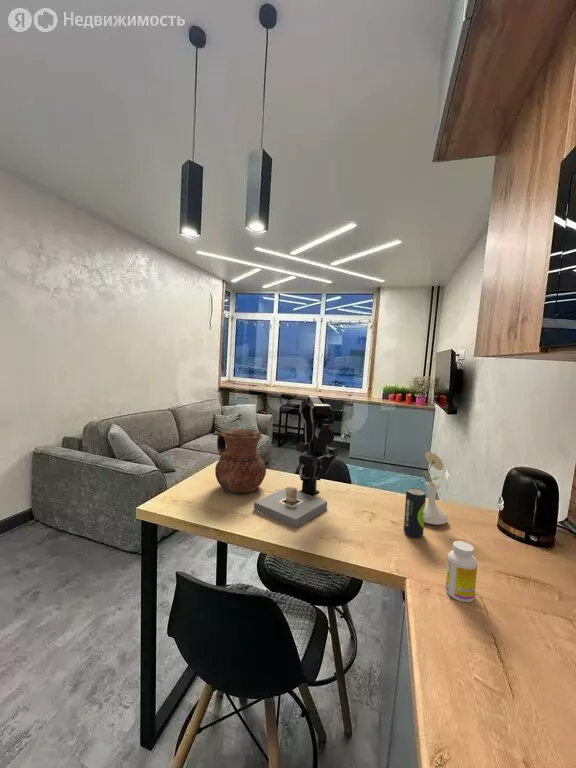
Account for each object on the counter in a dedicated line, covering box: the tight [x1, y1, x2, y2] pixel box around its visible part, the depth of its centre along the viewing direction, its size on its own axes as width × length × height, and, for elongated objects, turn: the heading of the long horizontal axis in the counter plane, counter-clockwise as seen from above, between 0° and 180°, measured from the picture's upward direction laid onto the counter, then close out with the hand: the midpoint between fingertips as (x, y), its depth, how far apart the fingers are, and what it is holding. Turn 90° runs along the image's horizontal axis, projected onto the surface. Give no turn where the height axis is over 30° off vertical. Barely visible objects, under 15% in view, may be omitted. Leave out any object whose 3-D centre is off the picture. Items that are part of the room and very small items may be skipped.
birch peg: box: [285, 486, 298, 506], centre depth 130 cm, size 4×4×8 cm
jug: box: [214, 428, 267, 494], centre depth 148 cm, size 22×21×25 cm
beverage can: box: [403, 487, 427, 539], centre depth 114 cm, size 6×6×15 cm
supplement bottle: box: [445, 540, 478, 603], centre depth 85 cm, size 7×7×13 cm
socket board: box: [253, 486, 328, 529], centre depth 130 cm, size 20×20×3 cm
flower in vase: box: [422, 451, 448, 526], centre depth 125 cm, size 13×11×25 cm
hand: (318, 477), depth 129 cm, fingers open, 9 cm apart
